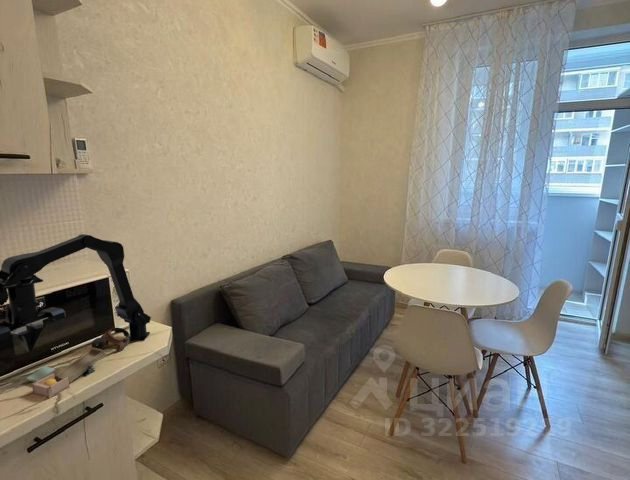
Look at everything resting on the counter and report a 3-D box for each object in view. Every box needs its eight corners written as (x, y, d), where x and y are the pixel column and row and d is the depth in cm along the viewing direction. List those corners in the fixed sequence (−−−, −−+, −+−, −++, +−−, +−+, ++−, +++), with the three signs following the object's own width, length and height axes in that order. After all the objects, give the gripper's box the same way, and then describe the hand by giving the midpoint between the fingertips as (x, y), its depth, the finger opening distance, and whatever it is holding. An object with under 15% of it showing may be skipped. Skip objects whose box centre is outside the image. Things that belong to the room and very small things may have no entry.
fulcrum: (83, 368, 104) (82, 362, 104) (95, 371, 102) (94, 365, 102) (73, 373, 101) (73, 367, 101) (86, 376, 100) (85, 370, 99)
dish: (53, 382, 96) (52, 373, 96) (69, 386, 94) (68, 377, 94) (33, 393, 91) (31, 383, 91) (49, 398, 89) (48, 388, 89)
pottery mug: (113, 341, 123) (123, 323, 122) (127, 357, 120) (137, 339, 119) (80, 347, 112) (91, 328, 111) (95, 365, 108) (106, 345, 108)
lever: (76, 348, 110) (74, 343, 109) (107, 355, 106) (105, 350, 105) (28, 381, 96) (25, 376, 96) (61, 391, 92) (59, 385, 91)
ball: (44, 377, 92) (40, 388, 92) (46, 379, 91) (42, 391, 90) (57, 377, 95) (53, 388, 94) (59, 379, 93) (55, 391, 92)
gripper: (39, 287, 104) (44, 333, 106) (-39, 307, 86) (-30, 361, 89) (64, 291, 101) (69, 338, 103) (-11, 313, 83) (-3, 369, 85)
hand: (29, 350), depth 95 cm, fingers closed
